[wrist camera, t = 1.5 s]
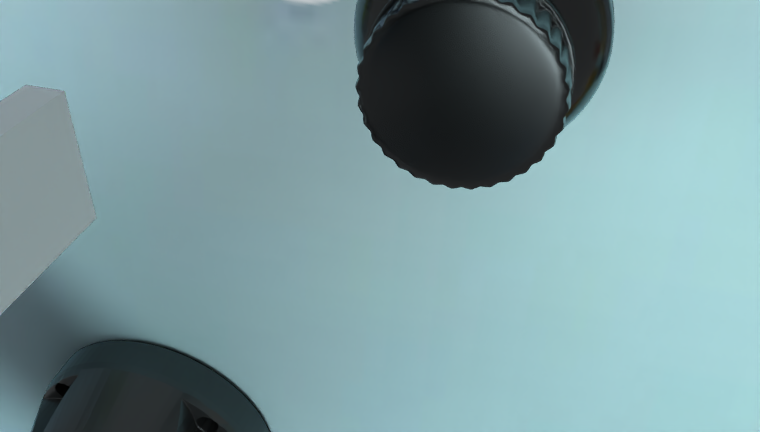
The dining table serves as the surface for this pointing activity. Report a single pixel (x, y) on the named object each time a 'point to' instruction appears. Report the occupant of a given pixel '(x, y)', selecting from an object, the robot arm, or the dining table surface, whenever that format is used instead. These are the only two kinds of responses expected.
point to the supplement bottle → (476, 81)
